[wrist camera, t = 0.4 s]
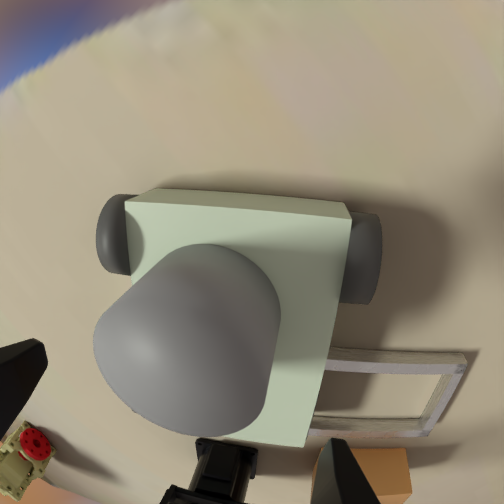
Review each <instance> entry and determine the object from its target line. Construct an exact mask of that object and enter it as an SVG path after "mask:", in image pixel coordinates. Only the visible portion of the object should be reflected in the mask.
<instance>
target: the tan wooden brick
mask: <svg viewBox="0 0 504 504" xmlns="http://www.w3.org/2000/svg"><path fill="white" fill-rule="evenodd" d="M323 448H324V447H322V448H321V451H322V450H323ZM321 451H320V453H321ZM351 451H352V453H353V455H354V457H355V458H356V460H357V462H358V464H359V465H360V467H361V469H362V471H363V473H364V474H365V476H366V478H367V480H368V482H369V483H370V485H371V487H372V489H373V490H374V492H375V494H376V496H377V498H378V499H379V501H380V503H381V504H403V503H404V502H405V501H406V499H407V498H408V497H409V496H410V495H411V494H412V486H411V480H410V473H409V467H408V461H407V455H406V449H405V448H390V449H351ZM320 453H319V456H320ZM319 456H318V459H319ZM318 459H317V461H316V464H315V466H314V469H313V475H312V488H311V498H312V492H313V487H314V482H315V476H316V470H317V465H318ZM310 504H311V501H310Z"/></svg>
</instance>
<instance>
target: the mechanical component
mask: <svg viewBox="0 0 504 504" xmlns="http://www.w3.org/2000/svg"><path fill="white" fill-rule="evenodd" d="M30 427H31V426H30V425H29V424H28V423H27V422H26V421H24V422H23V423H22V424H21V426H20V427H19V428H18V429H17V430H16V431H15V432H14V433H11V434H10V435H9V436H8V438H7V439H6V441H5V442H4V444H3V445H2V446H1V448H0V492H1V493H2V494H3V495H5V496H6V495H9V496H10V497H11V498H13V499H14V500H15V501H17V502H18V501H19V500H21V498H22V496H23V494H24V492H25V490H26V488H27V486H28V485H30V483H31V481H32V480H34V479H36V478H37V477H38V478H40V477H42V476H43V475H44V473H45V470H44V469H45V468H46V466H47V465H48V463H49V460H50V459H51V457H52V456H53V455H54V454H55V452H56V451H57V450H56V449H55V448H54V447H52V446H51V445H50V443H49V441H48V440H47V438H46V437H45V436H44V435H43V434H42V433H41V432H40V431H38V430H36V429H34V428H30ZM21 432H22V433H21ZM20 433H21V435H20V438H19V437H18V436H19V434H20ZM33 466H34V467H33ZM28 473H30V475H28ZM20 487H21V488H22V489H23V490H20Z"/></svg>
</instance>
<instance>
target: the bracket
mask: <svg viewBox="0 0 504 504" xmlns="http://www.w3.org/2000/svg"><path fill="white" fill-rule="evenodd" d="M467 365H468V363H467V361H466V359H465V357H464V355H463V353H439V352H403V351H382V350H365V349H351V348H338V347H329V352H328V356H327V360H326V365H325V369H324V370H332V371H346V372H362V373H383V374H442V376H441V378H440V381H439V383H438V385H437V387H436V389H435V391H434V393H433V394H432V396H431V398H430V400H429V402H428V404H427V406H426V408H425V409H424V411H423V413H422V415H421V417H420V418H419V419H351V418H332V417H317V416H313V418H312V422H311V425H310V429H309V432H308V435H313V436H327V437H348V438H402V437H422V436H428V435H429V433H430V431H431V430H432V428H433V427H434V425H435V423H436V422H437V420H438V419H439V417H440V415H441V414H442V412H443V410H444V408H445V407H446V405H447V403H448V402H449V400H450V398H451V396H452V394H453V392H454V391H455V389H456V387H457V385H458V383H459V381H460V379H461V377H462V375H463V373H464V371H465V369H466V367H467Z"/></svg>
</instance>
